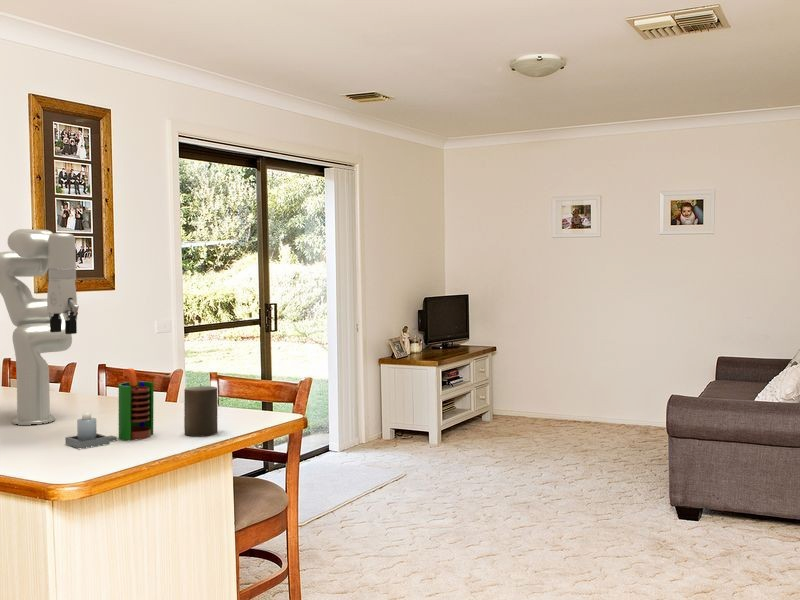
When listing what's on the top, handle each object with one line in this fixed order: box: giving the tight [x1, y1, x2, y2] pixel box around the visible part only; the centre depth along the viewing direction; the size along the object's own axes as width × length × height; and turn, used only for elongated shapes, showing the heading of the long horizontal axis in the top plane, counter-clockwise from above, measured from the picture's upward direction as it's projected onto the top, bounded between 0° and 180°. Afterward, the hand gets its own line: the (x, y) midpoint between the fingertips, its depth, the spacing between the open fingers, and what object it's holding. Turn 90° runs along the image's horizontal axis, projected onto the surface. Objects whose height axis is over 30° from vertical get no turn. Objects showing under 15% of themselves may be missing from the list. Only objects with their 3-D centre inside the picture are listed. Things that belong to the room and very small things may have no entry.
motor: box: [118, 368, 155, 441], centre depth 232 cm, size 10×9×20 cm
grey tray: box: [64, 433, 118, 449], centre depth 224 cm, size 9×12×2 cm
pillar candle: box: [183, 383, 218, 437], centre depth 238 cm, size 10×10×15 cm
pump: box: [76, 411, 98, 441], centre depth 223 cm, size 5×5×9 cm
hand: (63, 332), depth 235 cm, fingers open, 9 cm apart
